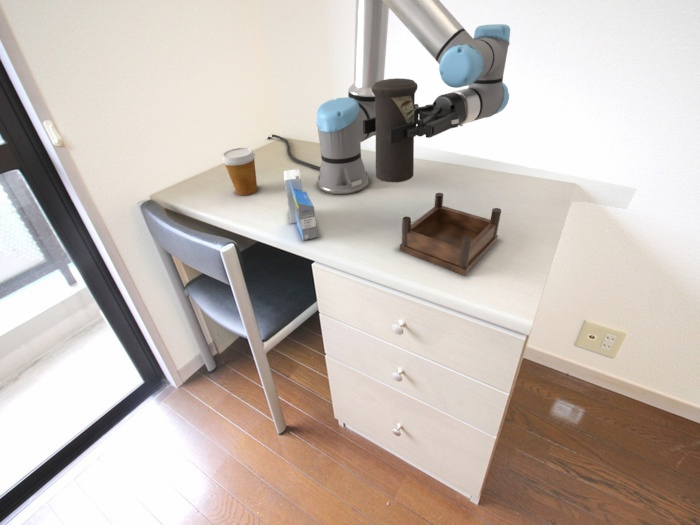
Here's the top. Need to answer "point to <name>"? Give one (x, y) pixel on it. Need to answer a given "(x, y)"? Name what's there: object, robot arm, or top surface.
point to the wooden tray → (450, 236)
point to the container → (392, 112)
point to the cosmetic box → (297, 185)
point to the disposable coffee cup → (241, 169)
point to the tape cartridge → (304, 214)
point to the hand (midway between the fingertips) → (376, 131)
